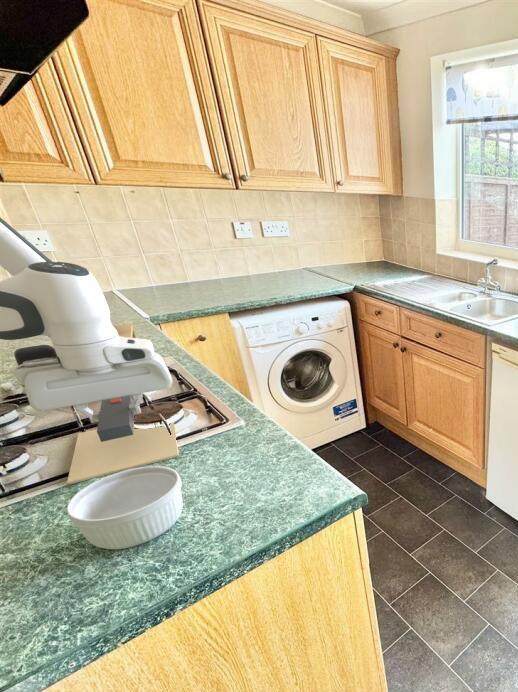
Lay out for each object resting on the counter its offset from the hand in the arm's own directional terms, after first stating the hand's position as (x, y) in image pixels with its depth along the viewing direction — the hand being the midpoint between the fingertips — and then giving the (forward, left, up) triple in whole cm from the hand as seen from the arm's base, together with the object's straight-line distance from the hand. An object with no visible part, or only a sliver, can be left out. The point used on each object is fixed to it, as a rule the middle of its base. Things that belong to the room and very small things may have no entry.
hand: (117, 416), depth 84 cm
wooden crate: (-3, +40, -7) cm, 41 cm away
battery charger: (-16, +41, -7) cm, 44 cm away
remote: (0, 0, -1) cm, 1 cm away
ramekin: (+2, -29, -7) cm, 30 cm away
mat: (0, 0, -7) cm, 7 cm away
